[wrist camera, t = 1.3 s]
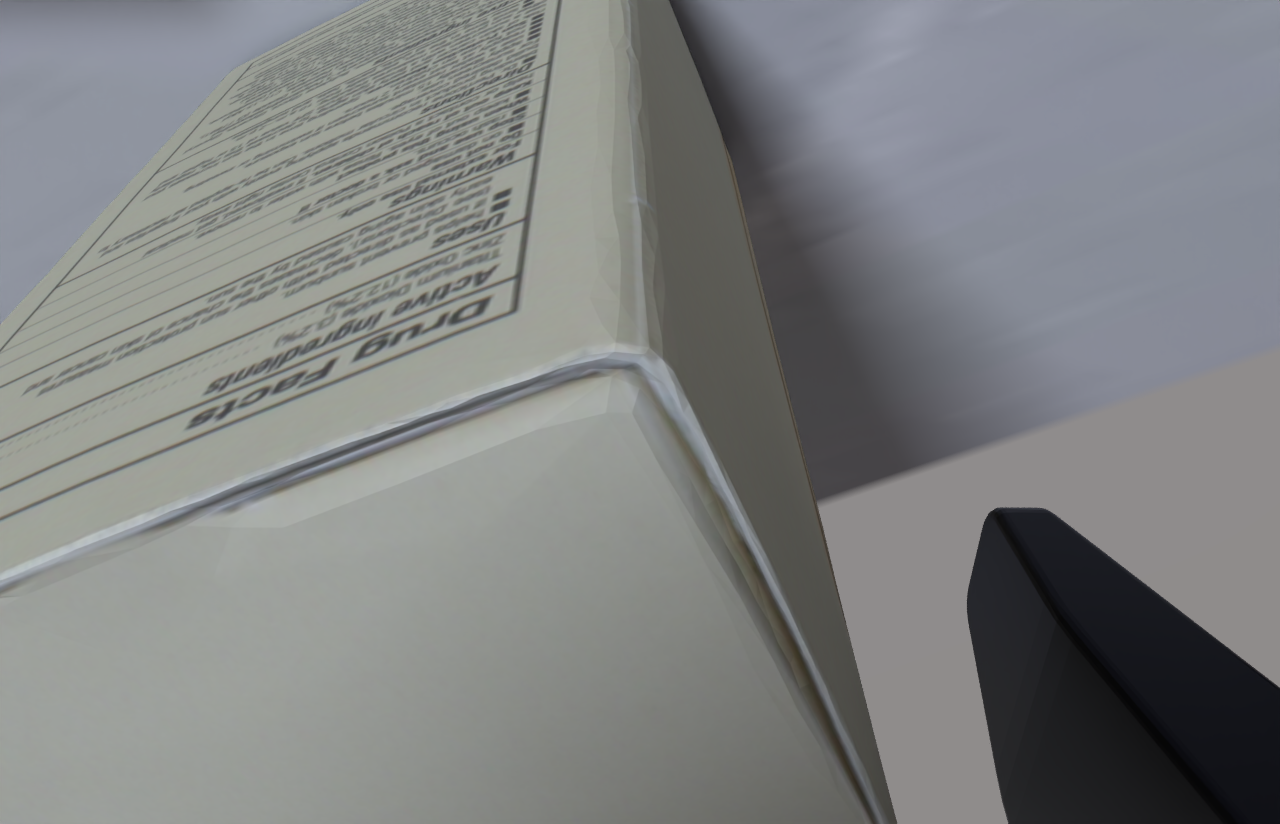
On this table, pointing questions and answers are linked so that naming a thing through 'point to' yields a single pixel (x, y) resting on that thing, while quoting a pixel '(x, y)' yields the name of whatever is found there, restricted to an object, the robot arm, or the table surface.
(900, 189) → the table surface
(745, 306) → the skincare box
